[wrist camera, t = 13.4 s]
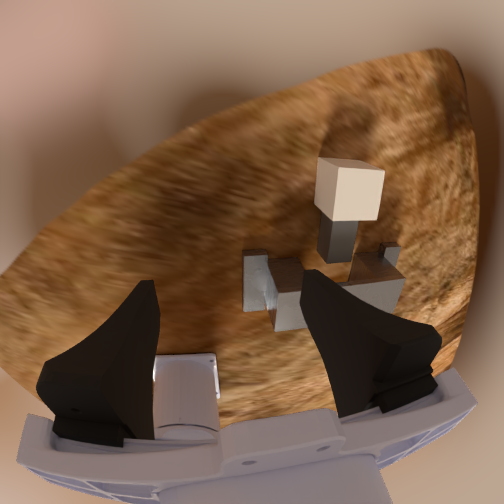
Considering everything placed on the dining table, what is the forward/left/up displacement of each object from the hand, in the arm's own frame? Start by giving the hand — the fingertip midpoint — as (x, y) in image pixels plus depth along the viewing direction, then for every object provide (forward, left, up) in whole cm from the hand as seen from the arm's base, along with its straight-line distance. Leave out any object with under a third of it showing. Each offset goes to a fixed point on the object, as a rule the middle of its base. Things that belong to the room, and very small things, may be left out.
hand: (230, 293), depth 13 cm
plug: (0, -10, -10) cm, 14 cm away
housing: (-6, -10, -10) cm, 16 cm away
